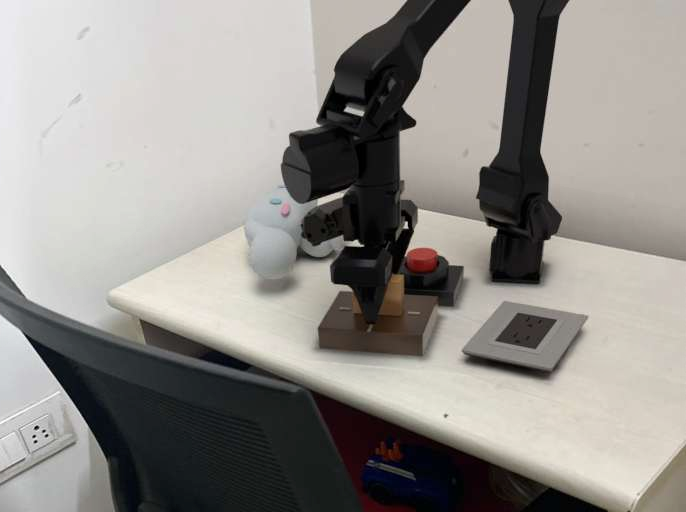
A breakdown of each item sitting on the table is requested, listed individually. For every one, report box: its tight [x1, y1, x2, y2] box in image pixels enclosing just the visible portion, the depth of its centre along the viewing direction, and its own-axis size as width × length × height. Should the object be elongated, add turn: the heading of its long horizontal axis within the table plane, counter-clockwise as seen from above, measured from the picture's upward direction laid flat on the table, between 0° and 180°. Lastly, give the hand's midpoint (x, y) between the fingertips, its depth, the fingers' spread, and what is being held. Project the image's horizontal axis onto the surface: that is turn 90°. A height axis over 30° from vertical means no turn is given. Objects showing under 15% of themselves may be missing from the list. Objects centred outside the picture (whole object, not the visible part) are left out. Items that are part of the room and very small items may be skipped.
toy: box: [243, 183, 344, 280], centre depth 116 cm, size 30×10×15 cm
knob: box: [351, 274, 404, 316], centre depth 94 cm, size 6×2×5 cm, turn 72°
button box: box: [398, 254, 465, 308], centre depth 104 cm, size 10×8×4 cm
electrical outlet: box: [461, 300, 589, 373], centre depth 91 cm, size 13×10×2 cm
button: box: [406, 247, 438, 272], centre depth 102 cm, size 4×4×2 cm
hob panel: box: [317, 290, 439, 357], centre depth 97 cm, size 13×10×3 cm
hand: (378, 307), depth 95 cm, fingers open, 8 cm apart
